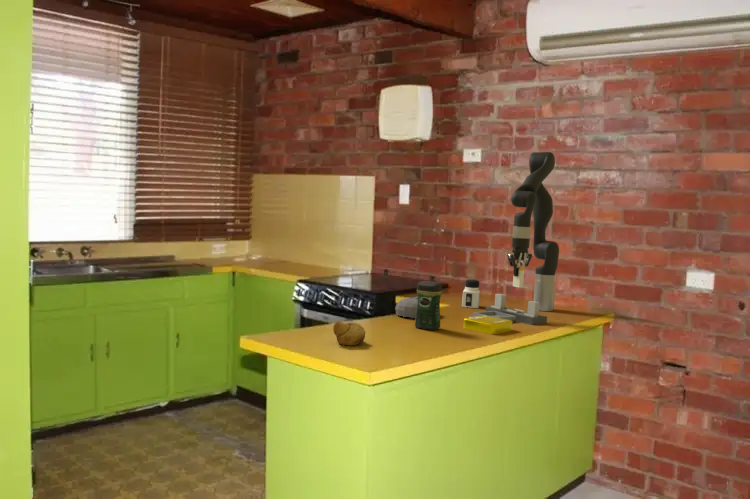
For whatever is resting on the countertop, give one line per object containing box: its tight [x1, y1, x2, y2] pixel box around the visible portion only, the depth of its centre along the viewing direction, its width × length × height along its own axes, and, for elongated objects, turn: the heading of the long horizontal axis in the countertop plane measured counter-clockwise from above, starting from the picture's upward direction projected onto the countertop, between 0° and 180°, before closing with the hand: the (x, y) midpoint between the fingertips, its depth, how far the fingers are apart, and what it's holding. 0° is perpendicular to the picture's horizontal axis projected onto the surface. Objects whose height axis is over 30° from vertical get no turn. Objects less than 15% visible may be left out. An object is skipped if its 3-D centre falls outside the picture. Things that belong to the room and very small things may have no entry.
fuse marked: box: [512, 266, 526, 289], centre depth 303 cm, size 2×4×9 cm, turn 34°
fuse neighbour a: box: [493, 293, 507, 309], centre depth 313 cm, size 2×4×9 cm, turn 35°
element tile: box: [462, 315, 513, 335], centre depth 276 cm, size 15×15×5 cm
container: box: [461, 278, 481, 309], centre depth 329 cm, size 8×8×13 cm
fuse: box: [526, 300, 540, 317], centre depth 296 cm, size 2×4×9 cm, turn 35°
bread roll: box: [332, 320, 366, 346], centre depth 238 cm, size 13×10×8 cm
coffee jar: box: [414, 280, 443, 331], centre depth 271 cm, size 10×8×19 cm
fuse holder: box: [485, 305, 548, 326], centre depth 305 cm, size 9×28×4 cm, turn 35°
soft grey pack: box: [394, 295, 418, 319], centre depth 297 cm, size 15×8×20 cm
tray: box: [471, 310, 517, 323], centre depth 297 cm, size 13×13×2 cm
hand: (518, 276), depth 303 cm, fingers closed on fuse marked, 2 cm apart
